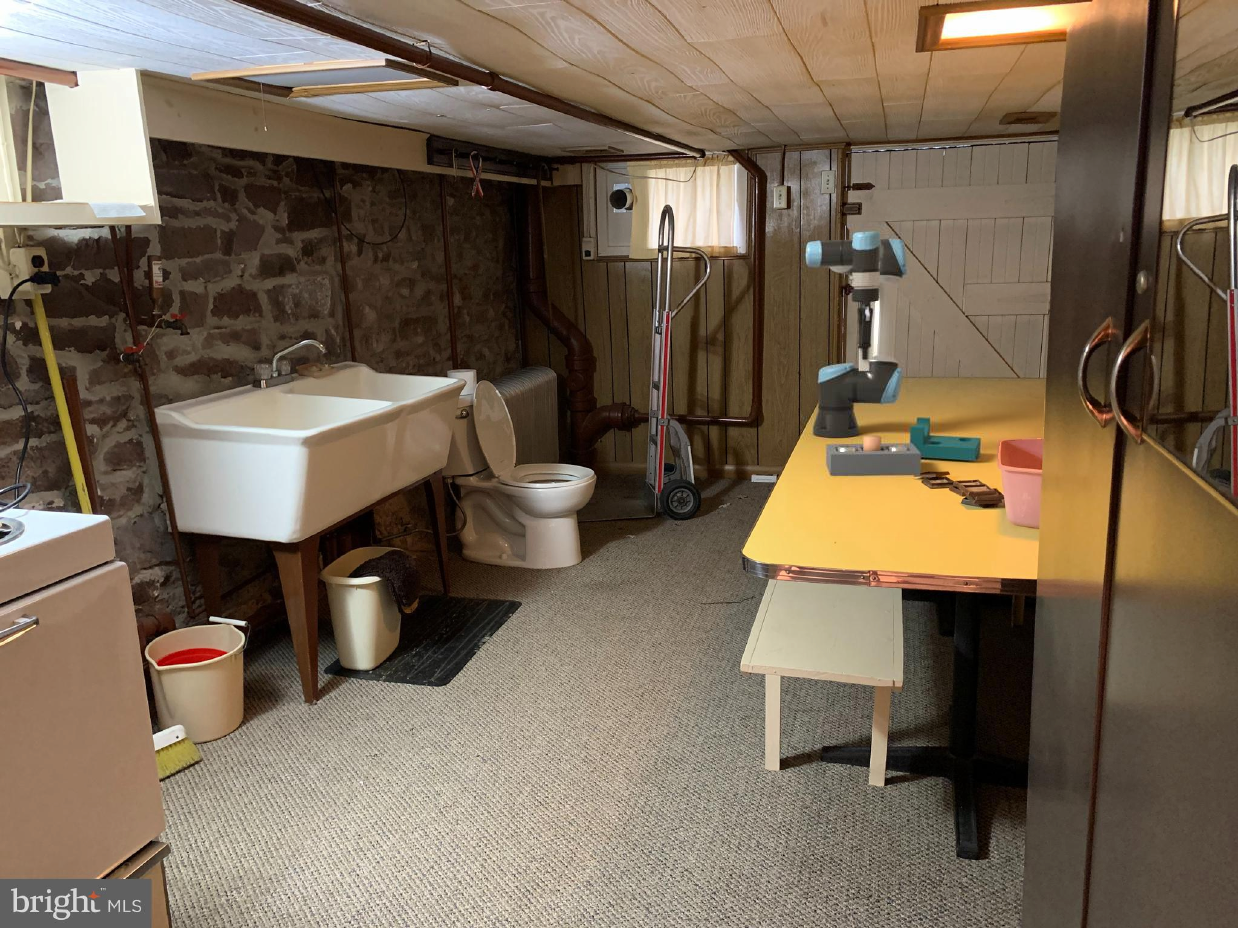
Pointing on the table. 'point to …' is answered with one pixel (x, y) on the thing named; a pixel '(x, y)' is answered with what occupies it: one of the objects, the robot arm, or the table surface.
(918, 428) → the teal l-shaped bracket
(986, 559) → the table surface
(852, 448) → the steel plug
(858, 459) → the grey rectangular block
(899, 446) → the steel plug
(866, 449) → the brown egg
